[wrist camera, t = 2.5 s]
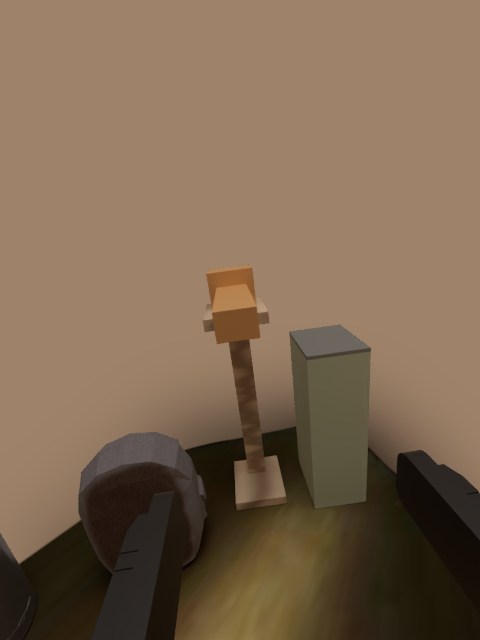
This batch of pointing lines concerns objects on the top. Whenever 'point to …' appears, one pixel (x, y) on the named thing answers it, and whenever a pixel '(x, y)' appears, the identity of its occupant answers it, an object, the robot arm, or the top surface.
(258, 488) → the tan table
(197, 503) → the soft grey pack
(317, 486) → the tall grey-green pillar
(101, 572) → the top surface
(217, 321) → the orange wooden block
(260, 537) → the top surface
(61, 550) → the top surface
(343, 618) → the top surface
